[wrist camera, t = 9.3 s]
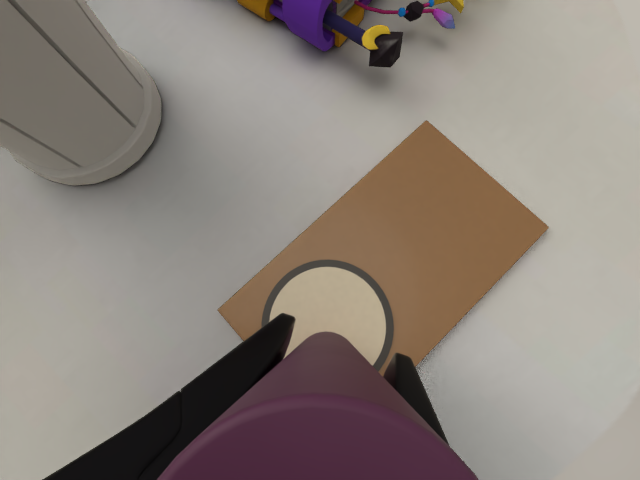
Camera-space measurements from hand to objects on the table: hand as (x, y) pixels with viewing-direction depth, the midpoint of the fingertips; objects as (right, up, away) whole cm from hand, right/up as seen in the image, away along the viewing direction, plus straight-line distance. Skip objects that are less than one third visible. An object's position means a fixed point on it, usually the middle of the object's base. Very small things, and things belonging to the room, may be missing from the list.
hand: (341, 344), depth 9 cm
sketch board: (+3, +1, +9) cm, 10 cm away
